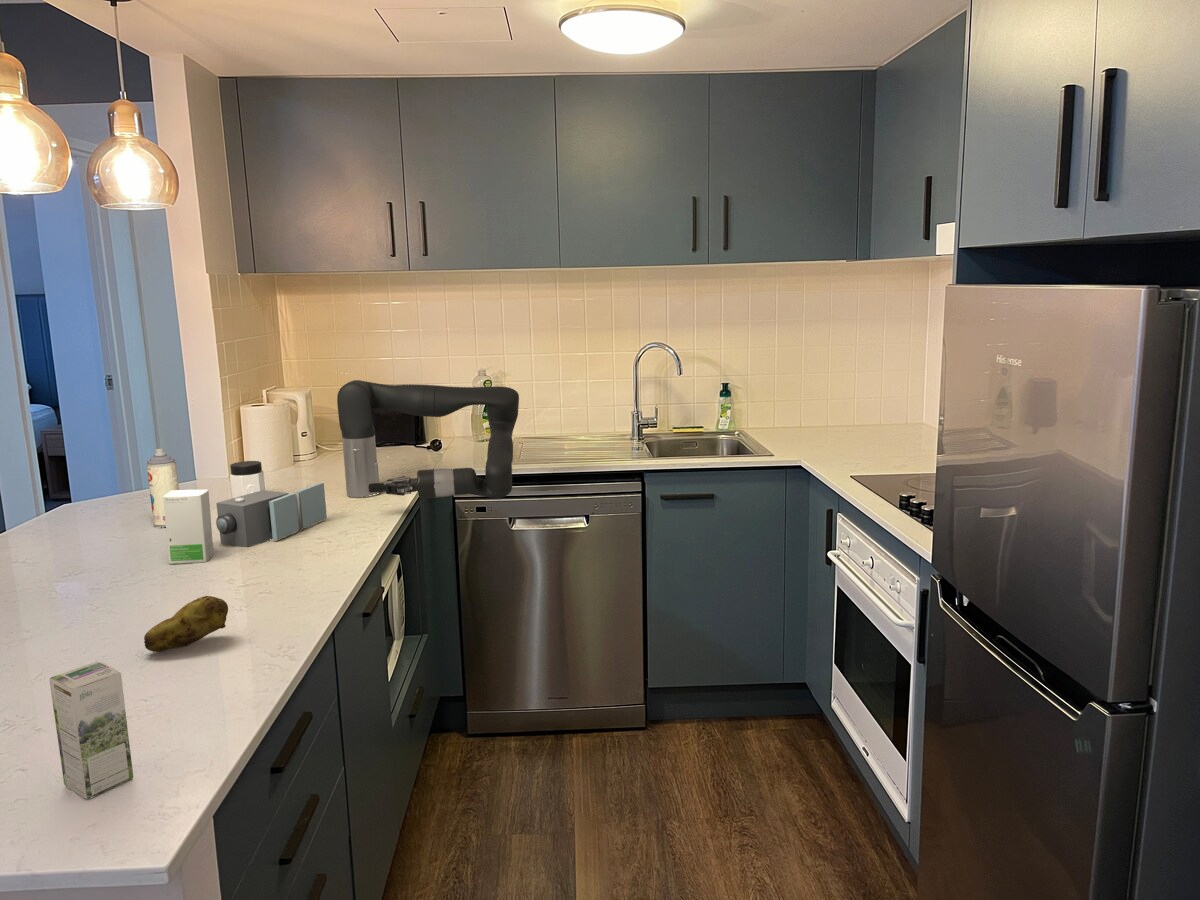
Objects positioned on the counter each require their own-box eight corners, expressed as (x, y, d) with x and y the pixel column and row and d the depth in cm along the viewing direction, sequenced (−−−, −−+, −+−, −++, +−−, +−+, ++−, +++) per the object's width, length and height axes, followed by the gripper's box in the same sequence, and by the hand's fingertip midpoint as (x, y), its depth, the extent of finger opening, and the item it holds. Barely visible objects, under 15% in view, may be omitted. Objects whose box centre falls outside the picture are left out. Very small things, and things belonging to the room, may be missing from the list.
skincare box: (168, 565, 194) (159, 496, 191) (177, 556, 200) (169, 490, 197) (208, 562, 195) (200, 494, 192) (216, 553, 202) (208, 487, 199)
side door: (322, 519, 229) (319, 482, 227) (327, 519, 228) (324, 482, 227) (272, 541, 210) (268, 501, 208) (277, 541, 209) (273, 501, 207)
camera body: (266, 528, 222) (262, 487, 220) (293, 532, 218) (289, 489, 216) (212, 546, 208) (207, 502, 206) (239, 550, 203) (234, 505, 201)
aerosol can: (155, 522, 231) (146, 448, 227) (184, 520, 233) (175, 446, 229) (152, 529, 224) (142, 452, 221) (181, 526, 226) (172, 450, 223)
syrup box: (111, 765, 111) (96, 658, 108) (135, 779, 108) (120, 669, 105) (63, 787, 107) (46, 675, 104) (87, 802, 103) (70, 687, 101)
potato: (154, 641, 151) (148, 597, 150) (233, 631, 154) (229, 588, 153) (142, 660, 143) (136, 614, 142) (227, 649, 147) (222, 604, 145)
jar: (236, 510, 241) (231, 468, 239) (230, 504, 248) (225, 463, 246) (270, 505, 246) (265, 463, 244) (263, 500, 253) (259, 459, 251)
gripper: (435, 464, 236) (369, 469, 234) (435, 474, 224) (365, 479, 221) (437, 491, 238) (371, 496, 235) (437, 502, 225) (367, 508, 222)
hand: (368, 488), depth 228 cm, fingers closed
